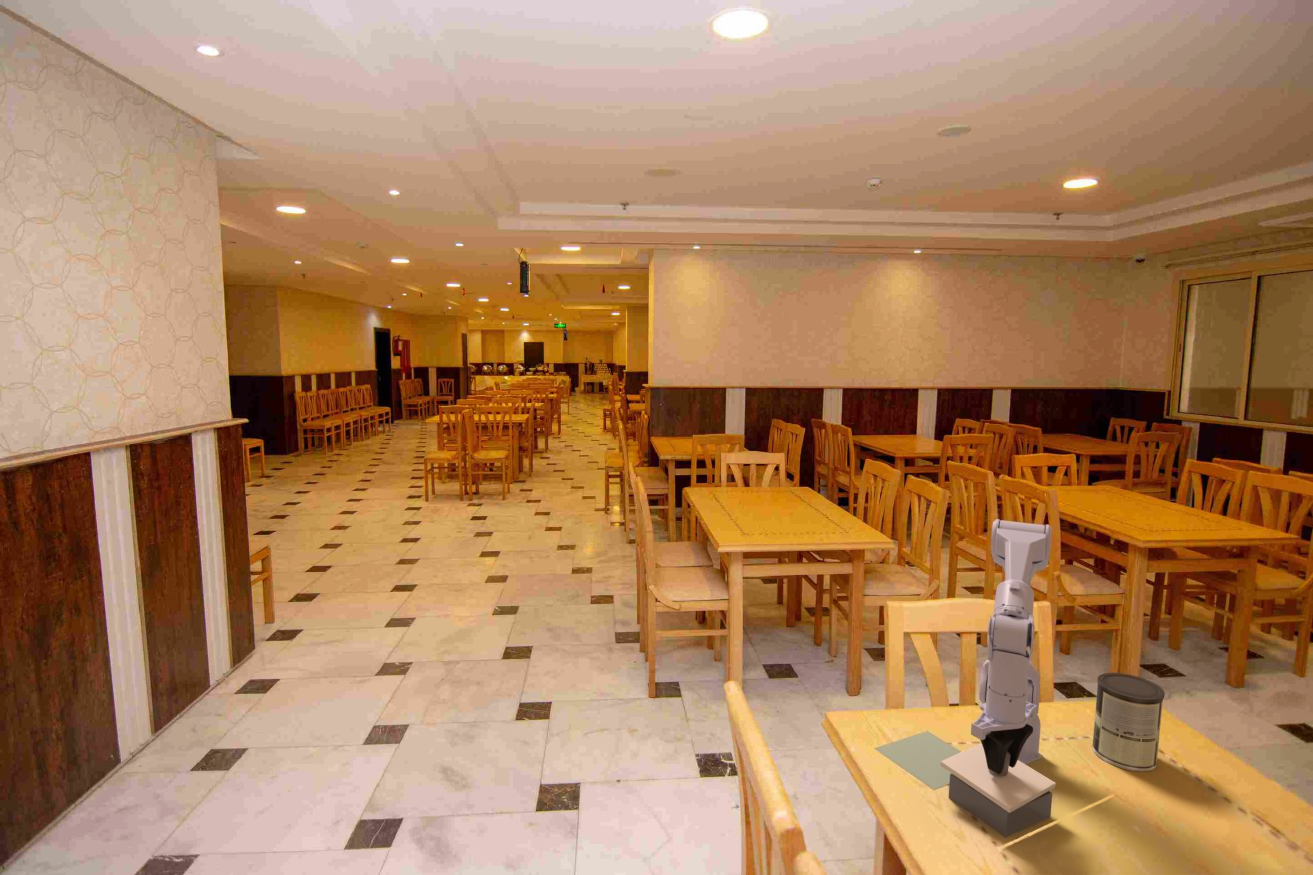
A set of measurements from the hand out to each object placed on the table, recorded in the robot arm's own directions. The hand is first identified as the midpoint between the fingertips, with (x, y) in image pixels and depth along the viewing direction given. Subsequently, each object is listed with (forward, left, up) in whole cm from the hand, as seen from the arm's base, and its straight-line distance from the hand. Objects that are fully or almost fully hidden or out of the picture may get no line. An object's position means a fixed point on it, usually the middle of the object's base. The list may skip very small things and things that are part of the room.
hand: (1001, 767), depth 113 cm
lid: (0, -1, -2) cm, 2 cm away
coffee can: (-35, 0, -8) cm, 36 cm away
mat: (-1, -15, -7) cm, 17 cm away
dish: (0, 0, -7) cm, 7 cm away
